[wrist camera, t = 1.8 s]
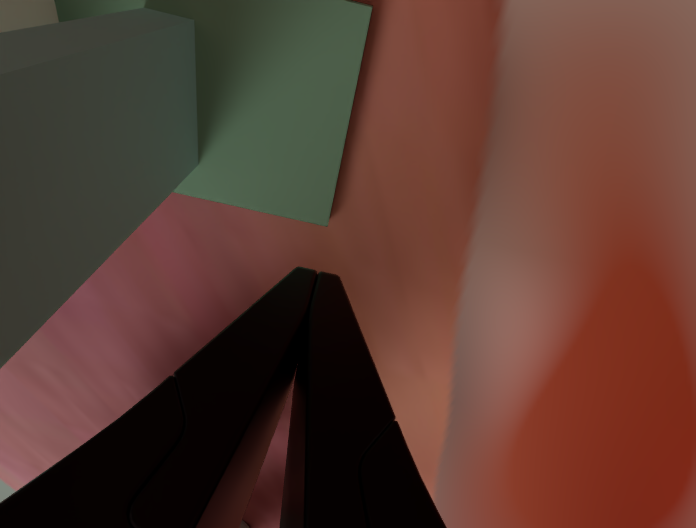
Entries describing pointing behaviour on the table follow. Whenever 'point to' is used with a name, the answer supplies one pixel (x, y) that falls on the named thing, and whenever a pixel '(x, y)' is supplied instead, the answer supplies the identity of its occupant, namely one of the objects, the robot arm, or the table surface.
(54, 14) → the domino
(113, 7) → the baize strip
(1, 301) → the domino
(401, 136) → the table surface
